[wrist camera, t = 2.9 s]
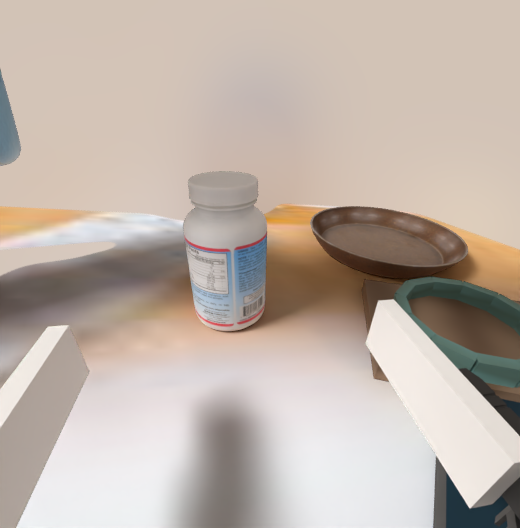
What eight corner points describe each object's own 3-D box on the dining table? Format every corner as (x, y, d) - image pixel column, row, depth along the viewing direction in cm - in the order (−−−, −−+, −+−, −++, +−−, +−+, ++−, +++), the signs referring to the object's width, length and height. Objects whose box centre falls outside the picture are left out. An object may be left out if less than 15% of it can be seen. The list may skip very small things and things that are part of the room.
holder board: (373, 378, 18) (384, 349, 17) (361, 289, 27) (367, 266, 25) (614, 428, 15) (650, 399, 14) (514, 312, 24) (530, 287, 23)
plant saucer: (416, 226, 42) (422, 207, 41) (496, 295, 27) (511, 268, 25) (302, 221, 43) (304, 203, 41) (317, 286, 28) (321, 260, 26)
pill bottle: (253, 284, 27) (254, 167, 21) (274, 325, 22) (283, 186, 16) (191, 294, 25) (174, 170, 20) (199, 341, 20) (179, 193, 15)
